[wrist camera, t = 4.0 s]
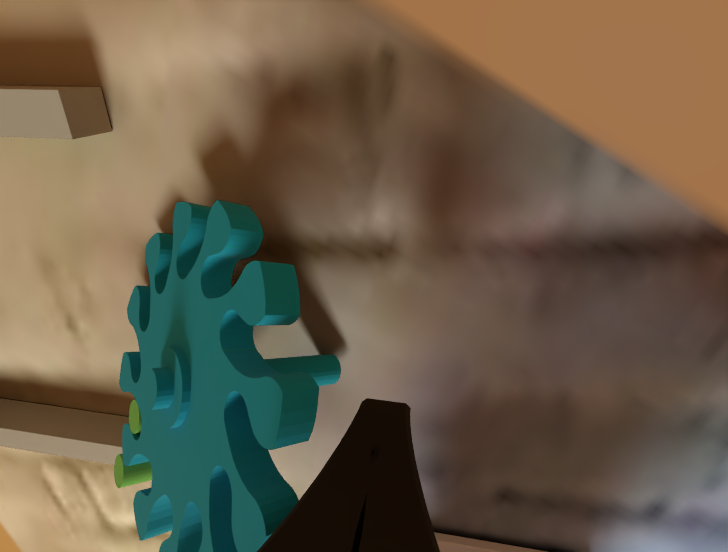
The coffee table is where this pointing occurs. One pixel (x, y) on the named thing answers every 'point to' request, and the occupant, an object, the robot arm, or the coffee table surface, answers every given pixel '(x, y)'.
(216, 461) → the gear
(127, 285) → the coffee table surface
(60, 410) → the cradle
